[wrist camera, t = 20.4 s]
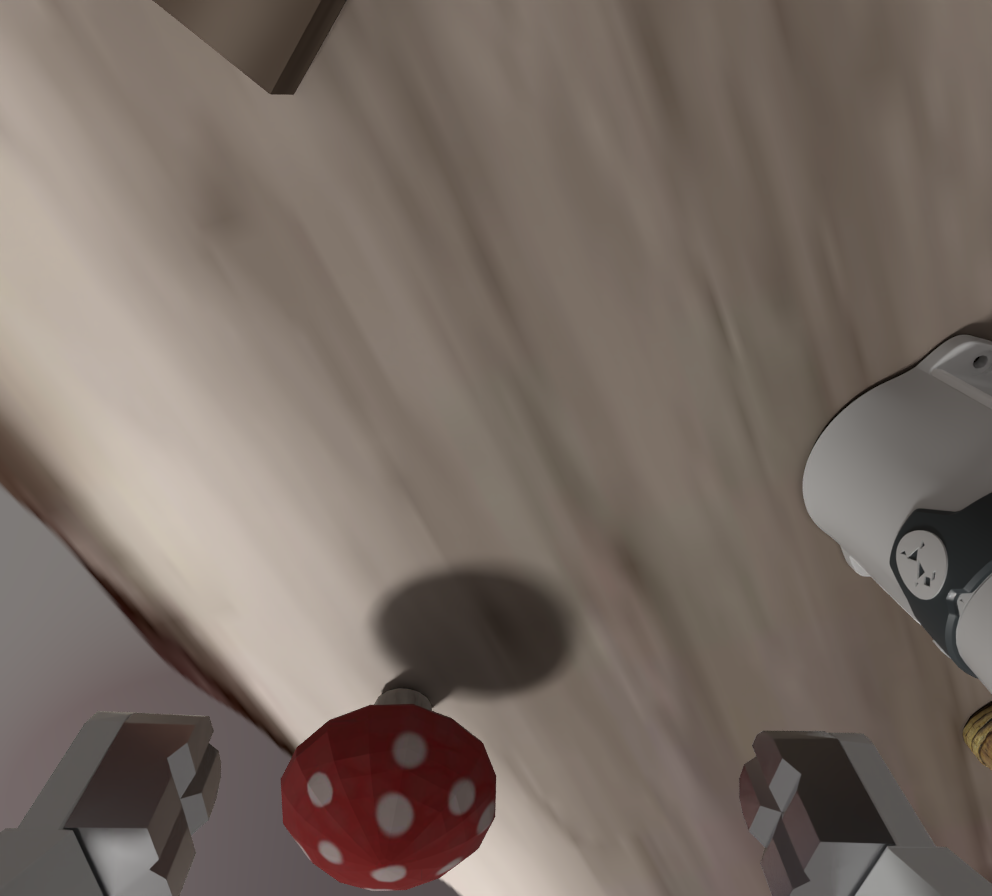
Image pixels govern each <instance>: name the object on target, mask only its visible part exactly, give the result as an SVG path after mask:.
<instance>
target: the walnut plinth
mask: <svg viewBox="0 0 992 896" xmlns="http://www.w3.org/2000/svg"><path fill="white" fill-rule="evenodd" d="M153 1H154V2H156V3H157V4H158V5H159V6H161V7H162V8H163V9H164V10H166V11H167V12H168V13H169V14H171V15H172V16H173V17H174V18H176V19H177V20H178V21H179V22H181V23H182V24H183V25H184V26H186V27H187V28H188V29H189V30H191V31H192V32H193V33H194V34H196V35H197V36H198V37H199V38H201V39H202V40H203V41H204V42H205V43H207V44H208V45H209V46H210V47H212V48H213V49H214V50H215V51H217V52H218V53H219V54H220V55H222V56H223V57H224V58H225V59H227V60H228V61H229V62H230V63H232V64H233V65H234V66H235V67H237V68H238V69H239V70H240V71H242V72H243V73H244V74H245V75H247V76H248V77H249V78H250V79H252V80H253V81H254V82H255V83H257V84H258V85H259V86H260V87H262V88H263V89H264V90H265V91H267V92H268V93H269V94H292V95H294V93H295V91H296V89H297V87H298V86H299V84H300V82H301V80H302V79H303V77H304V75H305V73H306V71H307V70H308V68H309V66H310V64H311V62H312V61H313V59H314V57H315V55H316V53H317V52H318V50H319V48H320V46H321V44H322V43H323V41H324V39H325V37H326V36H327V34H328V32H329V30H330V28H331V27H332V25H333V23H334V21H335V19H336V18H337V16H338V14H339V12H340V10H341V9H342V7H343V5H344V3H345V2H346V0H153Z"/></svg>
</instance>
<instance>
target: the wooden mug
mask: <svg viewBox="0 0 992 896" xmlns="http://www.w3.org/2000/svg"><path fill="white" fill-rule="evenodd" d="M963 739H964V741H965V743H966V744H967V746H968V747H969V748H970V749H971V751H972V752H973V753H974V754H975V756H976V757H977V758H978V760H979V761H980V762H981V763H982V764H983V765H985V766H987V767H989V768H990V769H991V771H992V703H991V704H989V705H987V706H985V707H984V708H982V709H980V710H979V711H978V712H977V713H975V714H974V715H973V716H972V717H970V719H969V721H968V722H967V724H966V726H965V728H964V730H963Z"/></svg>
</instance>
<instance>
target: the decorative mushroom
mask: <svg viewBox="0 0 992 896" xmlns="http://www.w3.org/2000/svg"><path fill="white" fill-rule="evenodd" d="M281 791H282V810H283V824H284V825H285V827H286V828H287V830H288V831H289V832H290V834H291V835H292V836H293V838H294V839H295V841H296V842H297V843H298V845H299V846H300V847H301V849H302V850H303V852H304V853H305V854H306V856H307V857H308V858H309V859H310V860H311V862H312V863H313V864H315V865H316V866H318V867H319V868H321V869H322V870H323V871H325V872H326V873H327V874H329V875H330V876H332V877H333V878H335V879H336V880H337V881H339V882H341V883H344V884H348V885H352V886H356V887H360V888H363V889H367V890H371V891H385V890H386V891H387V890H407V889H410V888H413V887H415V886H418V885H421V884H424V883H427V882H430V881H432V880H435V879H438V878H440V877H441V876H443V875H444V874H445V873H447V872H448V871H449V870H451V869H452V868H454V867H455V866H456V865H458V864H459V863H460V862H462V861H463V860H464V859H466V858H467V857H468V856H470V855H471V854H472V853H474V852H475V851H476V850H477V849H478V848H479V846H480V845H481V843H482V841H483V839H484V837H485V835H486V833H487V831H488V829H489V827H490V826H491V824H492V822H493V820H494V818H495V800H496V775H495V772H494V770H493V767H492V765H491V762H490V760H489V757H488V754H487V752H486V749H485V747H484V744H483V743H482V742H481V741H480V740H479V739H478V738H476V737H475V736H474V735H472V734H471V733H470V732H469V731H467V730H466V729H465V728H463V727H462V726H461V725H460V724H458V723H457V722H456V721H455V720H453V719H452V718H450V717H447V716H444V715H442V714H439V713H436V712H434V711H432V705H431V704H430V702H429V700H428V699H427V697H425V696H424V695H422V694H421V693H420V692H418V691H414V690H411V689H402V688H397V689H393V690H389V691H387V692H385V693H384V694H382V695H381V696H379V697H378V699H377V701H376V702H375V704H374V705H369V706H366V707H363V708H361V709H358V710H355V711H353V712H350V713H347V714H345V715H342V716H339V717H336V718H334V719H331V720H329V721H328V722H326V723H325V724H324V725H323V726H322V727H321V728H319V729H318V730H317V731H316V732H315V733H313V734H312V735H311V736H310V737H309V738H308V739H306V740H305V741H304V742H303V743H302V744H300V745H299V746H298V747H297V749H296V750H295V752H294V754H293V756H292V758H291V760H290V762H289V764H288V766H287V768H286V770H285V772H284V774H283V776H282V778H281Z"/></svg>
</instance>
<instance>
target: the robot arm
mask: <svg viewBox="0 0 992 896" xmlns="http://www.w3.org/2000/svg"><path fill="white" fill-rule="evenodd" d="M979 356H980V357H979ZM977 357H979V359H978V360H977V361H976V362H975V363H973V362H974V360H975V359H976V358H977ZM803 497H804V502H805V505H806V508H807V511H808V513H809V515H810V516H811V518H812V520H813V521H814V522H815V524H816V525H817V526H818V527H819V528H820V529H821V530H823V531H824V532H825V533H826V534H828V535H829V536H830V537H831V538H833V539H834V540H835V541H836V542H837V543H839V544H840V546H841V549H842V552H843V554H844V557H845V559H846V561H847V563H848V564H849V566H850V567H851V568H852V569H853V570H854V571H855V572H857V573H858V574H859V575H861V576H871V577H872V578H873V579H874V580H875V581H876V582H877V583H878V584H879V585H880V586H881V587H882V588H883V589H884V590H885V591H886V592H887V593H888V594H889V595H890V596H891V597H892V598H893V599H894V600H895V601H896V602H897V603H898V604H899V605H900V606H901V607H902V608H903V609H904V610H905V611H906V612H907V613H908V614H909V615H911V616H912V617H913V618H914V619H915V620H916V621H917V622H918V623H919V624H921V625H922V626H923V627H924V628H925V630H926V631H927V632H928V633H929V634H930V636H931V637H932V638H933V639H934V640H933V642H934V643H935V644H936V646H937V647H938V648H939V649H940V650H941V651H942V652H943V653H944V654H945V655H946V656H948V657H949V658H951V659H952V660H953V661H954V663H955V664H956V665H957V666H958V667H959V668H960V669H962V670H963V671H964V672H966V673H967V674H969V675H971V676H973V677H975V678H977V679H979V680H980V681H981V682H982V683H983V684H984V686H985V687H986V688H987V689H988V690H989V692H990V693H991V694H992V341H989V340H985V339H982V338H978V337H974V336H971V335H958V336H955V337H953V338H951V339H949V340H947V341H946V342H944V343H943V344H941V345H940V346H939V347H938V348H936V349H935V350H934V351H933V352H932V353H930V354H929V355H928V356H927V357H926V358H925V359H924V360H923V361H921V362H920V363H919V364H918V365H917V366H916V367H915V368H913V369H911V370H910V371H908V372H906V373H904V374H902V375H900V376H898V377H896V378H894V379H891V380H889V381H887V382H885V383H883V384H881V385H879V386H877V387H875V388H873V389H872V390H870V391H868V392H867V393H865V394H864V395H862V396H861V397H859V398H858V399H856V400H855V401H854V402H852V403H851V404H850V405H849V406H847V407H846V408H845V409H844V410H843V411H842V412H841V413H840V414H839V415H838V416H837V417H836V418H835V419H834V420H833V421H832V422H831V423H830V424H829V425H828V427H827V428H826V429H825V430H824V432H823V433H822V434H821V436H820V437H819V439H818V440H817V442H816V444H815V446H814V447H813V449H812V451H811V453H810V456H809V458H808V461H807V464H806V467H805V471H804V477H803ZM213 731H214V730H213V727H212V724H211V721H210V717H209V716H193V715H191V716H190V715H171V714H149V713H132V712H100V711H98V712H97V713H96V714H94V715H93V716H92V717H91V718H90V719H89V720H88V721H87V722H86V723H85V724H84V725H83V727H82V729H81V730H80V732H79V733H78V735H77V736H76V738H75V739H74V741H73V743H72V744H71V746H70V747H69V749H68V750H67V752H66V754H65V755H64V757H63V758H62V760H61V761H60V763H59V764H58V766H57V767H56V769H55V771H54V772H53V774H52V775H51V777H50V778H49V780H48V781H47V783H46V785H45V786H44V788H43V789H42V791H41V793H40V794H39V796H38V797H37V799H36V800H35V802H34V803H33V805H32V806H31V808H30V810H29V811H28V813H27V814H26V816H25V817H24V819H23V820H22V822H21V824H20V825H19V827H18V828H7V829H4V830H3V831H2V832H0V896H180V893H181V890H182V888H183V885H184V883H185V880H186V878H187V875H188V872H189V870H190V867H191V864H192V862H193V859H194V857H195V854H196V851H195V848H194V844H193V841H192V838H191V836H192V835H193V834H194V833H195V832H196V831H197V830H198V829H199V828H200V827H201V826H202V825H204V823H206V822H207V821H208V820H209V817H210V815H211V812H212V809H213V806H214V804H215V801H216V798H217V793H218V788H219V783H220V778H221V760H220V755H219V751H218V750H217V749H216V748H214V747H213V746H212V745H210V744H209V741H210V739H211V736H212V733H213ZM752 747H753V749H754V752H755V754H756V757H754V758H753V759H751V760H750V761H748V762H747V763H745V764H744V766H743V769H742V772H741V775H740V778H739V798H740V803H741V808H742V813H743V816H744V819H745V822H746V825H747V827H748V830H749V832H750V833H751V834H752V835H753V836H754V837H755V838H756V839H757V840H758V841H759V842H760V843H761V844H762V845H763V846H764V847H765V848H764V852H763V856H762V859H761V863H760V864H761V866H762V869H763V872H764V875H765V877H766V880H767V883H768V885H769V888H770V891H771V894H772V896H992V884H991V883H990V882H988V881H987V880H986V879H985V878H984V877H982V876H981V875H980V874H979V873H977V872H976V871H975V870H974V869H973V868H971V867H970V866H969V865H968V864H966V863H965V862H964V861H963V860H962V859H960V858H959V857H958V856H957V855H955V854H954V853H953V852H952V851H950V850H949V849H948V848H947V847H936V846H935V844H934V843H933V841H932V839H931V838H930V836H929V834H928V833H927V831H926V829H925V828H924V826H923V825H922V823H921V821H920V820H919V818H918V816H917V815H916V813H915V811H914V810H913V808H912V806H911V805H910V803H909V802H908V800H907V798H906V797H905V795H904V793H903V792H902V790H901V788H900V787H899V785H898V784H897V782H896V780H895V779H894V777H893V775H892V774H891V772H890V770H889V769H888V767H887V766H886V764H885V762H884V761H883V759H882V757H881V756H880V754H879V752H878V751H877V749H876V747H875V746H874V744H873V743H872V741H871V740H870V739H869V738H867V737H866V736H865V735H864V734H860V733H826V732H825V731H762V732H761V733H759V734H757V736H756V738H755V740H754V742H753V745H752Z"/></svg>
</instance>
